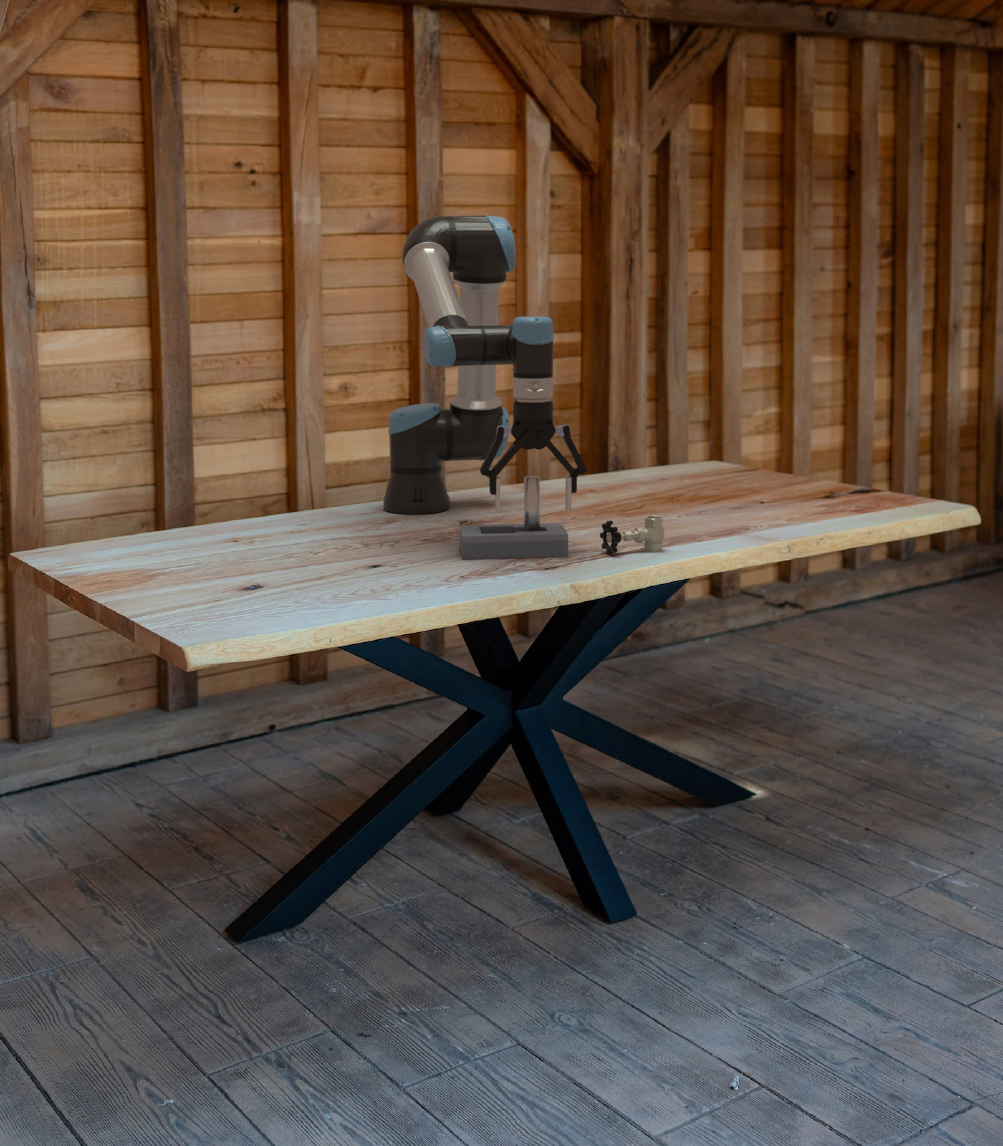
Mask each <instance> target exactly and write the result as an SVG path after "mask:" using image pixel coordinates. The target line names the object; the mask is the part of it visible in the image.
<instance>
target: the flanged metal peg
mask: <svg viewBox="0 0 1003 1146" xmlns="http://www.w3.org/2000/svg"><path fill="white" fill-rule="evenodd" d="M540 481H541V478H540V476H538V475H527V476H524V477H523V505H524V506H523V513H524V514H523V516H524V517H523V519H524V521H523V522H524V523H523V524H524V531H540V523H541V512H540V511H541V501H540V500H541V494H540V493H541V492H540V489H541V488H540V487H541V486H540V485H541V482H540Z"/></svg>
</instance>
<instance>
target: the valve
mask: <svg viewBox="0 0 1003 1146" xmlns="http://www.w3.org/2000/svg"><path fill="white" fill-rule="evenodd" d="M612 525H614V521H613V520H607V521H606V522H605V523H601V528H602V532H600V533H599V538H600V539H602V542H603V543H601V549H603V550H605V554H606V555H607V556H611V555H613V554H615V553H618V548H617V547H618V545H619V544H620V542H622V540H623V542H630V541H634V542H635V543H636V544H642V543H644V548H643V549H644V552H649V553H657V552H658V553H659V552H660V553H661V552H663V540H664V538H665V529H664V527H663V516H661V515H646V516H644V527H641V526H640V527H634V529H633V530H632V532H631V531H630V530H629V531H623V532H622V533H621V532H620V531H619V530H618V527H617V526H612Z"/></svg>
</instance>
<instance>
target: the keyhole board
mask: <svg viewBox="0 0 1003 1146" xmlns="http://www.w3.org/2000/svg"><path fill="white" fill-rule="evenodd" d="M458 527H459V533H458V534H459V550H460V553H461V557H462V560H489V559H490V560H491V559H492V560H493V559H496V560H497V559H526V558H527V559H532V558H533V559H535V558H568V557H569V533H568V531H567V530H566V528H565V527H564V526H563V523H561V522H551V523H550V522H548V523H547V522H545V523H544V522H540V531H524V523H509V524H508V523H506V524H504V523H503V524H499V523H498V524H495V523H494V524H463V525H461V524H460V525H459V526H458Z"/></svg>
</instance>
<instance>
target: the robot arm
mask: <svg viewBox="0 0 1003 1146" xmlns="http://www.w3.org/2000/svg"><path fill="white" fill-rule="evenodd" d="M401 255H402V257H401V258H402V259H401V260H402V264H403V267H404V272H405V274H406V275H407V277H409V279H411V280H412V281H413V282H414V286H415V290H416V292H417V294H418V298H419V301H420V304H421V307H422V310H423V313H424V316H425V320H426V322H427V326H428V327H427V328H426V329H425V331H424V334H423V352H424V358H425V361H426V363H427V364H428V365H429V366H432V367H445V368H450V367H457V383H456V384H457V387H456V388H457V389H456V394H455V395H454V396H453V397H452V398H451V399H450V401H449V404H450V405H449V406H450V407H449V409H448V408H447V409H442V406H441V405H440V403H437V402H429V403H418V404H412V405H411V404H410V405H407V406H403V407H398V408H397V409H394V410H393V411H391V413H390V415H389V417H388V418H389V421H388V423H389V424H388V430H387V432H388V435H389V436H388V437H389V440H388V441H389V468H390V469H389V471H390V473H389V479H388V481H387V485H386V490H385V494H384V497H383V500H382V502H383V510H384V511H386V512H390V513H395V514H407V515H422V514H431V513H432V514H433V513H435V514H436V513H440V512H445V511H447V510H450V508H451V499H450V495H449V494H448V491H447V487H446V484H445V483H446V482H445V480H444V477H443V474H442V473H443V471H442V469H443V468H442V464H443V462H456V461H458V462H459V461H461V462H462V461H483V462H482V464H481V467H480V469H479V473H480V474H481V475H482V476H484V477H488V478H489V479H488V481H489V493H490V495H491V496H494V495H495V496H494V497H495V498H494V500H495V501H494V502H495V506H494V507H495V508H494V509H495V512H496V514H497V513H500V514H501V513H502V511H501V509H502V508H501V477H500V476H498V475H499V474H500V473H501V472H502V471H503V469H504V468H505V467H507V465H508V463H509V462H510V461H511V460H512V458H513V457H514V456H515V455H516V454H517V453H518V452H519V450H521V448H522V449H524V450H526V451H528V450H543V449H544V448H546V447H547V449H548V450H549V451H550V452H551V453H552V455H553V456H554V457H555V458H556V459H557V460H558V462H559V463H560V464H561V465H562V466H563V468H564V469H565V470H566V471H567V473H569V474H568V475H567V474H565V510H566V512H572V494H576V493H577V491H578V477H579V475H581V474H586V472H587V467H586V465H585V464H584V461H583V458H582V457H581V456H580V453H579V451H578V449H577V447H576V445H575V443H574V440H573V439H572V437H571V430H570V426H569V425H568V424H567V423H564V424H562V425H557V426H555V425H554V403H553V400H551V399H552V398H553V397H554V379H553V377H554V339H555V335H554V327H553V326H554V325H553V320H552V319H551V318H550V317H549V316H541V315H540V316H538V315H537V316H536V315H535V316H530V315H529V316H517V317H515V318H514V319H513V322H512V323H510V324H509V323H508V325H507V324H506V325H505V324H504V325H501V324H499V303H500V301H499V299H500V296H499V295H500V288H501V287H502V286H503V285H504V284H506V282H507V273H511V272H513V271H514V270H515V268H516V262H517V251H516V242H515V237H514V233H513V230H512V228H511V225H510V222H509V221H508V220H507V219H506V218H505V217H502V216H495V215H451V216H450V215H449V216H448V215H447V216H446V215H437V216H433V217H430V218H427V219H425V220H423V221H421V222H420V223H418V224H417V225H416V226H415V227H414V228H413V229H412V230H411V231H410V232H409V234H408V235H407V237H406V239H405V242H404V244H403V248H402V253H401ZM451 273H452V276H451ZM454 282H455V284H456V285H457V286H458V287H459V295H458V292H457V289H456V287H455V284H454ZM508 365H512V368H513V369H512V372H513V373H512V375H513V376H512V391H513V392H512V397H513V398H514V399H515V400H514V401H513V402H512V405H513V406H512V409H513V410H512V411H513V412H512V426H510V424H509V422H510V416H509V412H508V409H506V408H505V407H503V405H502V402H503V401H502V400H501V399H500V398H499V397H498V396H497V395H496V391H497V390H496V388H497V386H496V385H497V384H496V383H497V366H508ZM556 433H557V434H558V435H559V436H560V437H561V438H563V440H564V443H565V444H566V447H567V449H568V451H569V452H570V455H571V456H572V459H573V460H574V463H575V465H576V466H577V467H573V466H572V465H571V463H570V462H569V461H568V460H567V459H566V458H565V456H564V455H563V453H561V452H560V450H558V448H557V447H556V446H555V444H554V443H553V442H552V441H551V440H552V439H553V437H554V436H555V434H556ZM510 434H511V435H512V436H513V437H512V438H514V441H513V442H512V443H511V445H510V447H509V448H508V449H507V450H506V451H505V449H506V447H507V445H508V440H509V435H510ZM504 452H505V453H504ZM503 453H504V454H503ZM499 457H500V459H499V460H498V461H497V463H495V465H494V466H492V464H493V462H494V461H495V459H498V458H499ZM491 466H492V468H491ZM490 468H491V469H490Z"/></svg>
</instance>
